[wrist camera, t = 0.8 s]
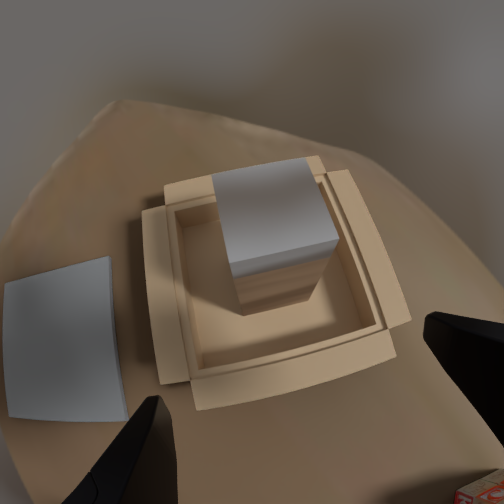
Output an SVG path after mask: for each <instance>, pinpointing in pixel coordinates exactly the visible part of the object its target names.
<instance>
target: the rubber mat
mask: <svg viewBox="0 0 504 504" xmlns="http://www.w3.org/2000/svg"><path fill="white" fill-rule="evenodd" d="M3 366H4V380H5V390H6V399H7V406H8V413H9V417H15V418H24V419H34V420H47V421H68V422H113V421H128V420H129V417H128V412H127V407H126V402H125V396H124V391H123V385H122V378H121V372H120V365H119V357H118V349H117V341H116V331H115V320H114V307H113V291H112V263H111V258H110V257H109V256H106V257H102V258H98V259H94V260H90V261H86V262H82V263H79V264H75V265H71V266H67V267H63V268H60V269H56V270H52V271H48V272H45V273H41V274H37V275H34V276H30V277H26V278H23V279H19V280H16V281H12V282H9V283H5V289H4V304H3Z"/></svg>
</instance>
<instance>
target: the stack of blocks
mask: <svg viewBox="0 0 504 504" xmlns="http://www.w3.org/2000/svg"><path fill="white" fill-rule="evenodd" d="M454 504H504V469H498V470H497V471H495V472H493V473H491V474H489V475H487V476H485V477H483V478H481V479H479V480H477V481H474V482H472V483H470V484H468V485H466V486H464V487H462V488H460V489H458V490H456V494H455V500H454Z"/></svg>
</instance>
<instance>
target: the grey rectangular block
mask: <svg viewBox="0 0 504 504" xmlns="http://www.w3.org/2000/svg"><path fill="white" fill-rule="evenodd" d="M211 177H212V182H213V187H214V192H215V197H216V202H217V207H218V212H219V217H220V222H221V226H222V231H223V236H224V241H225V246H226V250H227V255H228V260H229V264H230V268H231V272H232V276H233V280H234V284H235V287H236V291H237V295H238V299H239V303H240V306H241V310H242V314H243V316H247V315H251V314H256V313H260V312H264V311H269V310H273V309H277V308H281V307H285V306H289V305H293V304H297V303H301V302H305V301H308V300H309V298H310V297H311V295H312V293H313V291H314V289H315V287H316V285H317V283H318V281H319V279H320V277H321V275H322V273H323V271H324V269H325V267H326V265H327V263H328V261H329V259H330V257H331V255H332V253H333V251H334V249H335V247H336V245H337V243H338V241H339V236H338V234H337V231H336V228H335V226H334V223H333V221H332V219H331V216H330V214H329V211H328V209H327V206H326V204H325V202H324V199H323V197H322V195H321V192H320V190H319V188H318V185H317V183H316V181H315V178H314V176H313V174H312V172H311V169H310V167H309V165H308V163H307V161H306V159H305V157H304V158H298V159H291V160H285V161H279V162H273V163H268V164H262V165H257V166H251V167H246V168H241V169H236V170H231V171H226V172H221V173H216V174H212V175H211Z"/></svg>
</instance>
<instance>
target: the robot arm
mask: <svg viewBox="0 0 504 504" xmlns="http://www.w3.org/2000/svg"><path fill="white" fill-rule="evenodd" d="M423 338H424V341H425V342H426V344H427V345H428V347H429V348H430V349H431V351H432V352H433V354H434V355H435V357H436V358H437V360H438V361H439V363H440V364H441V366H442V367H443V369H444V370H445V371H446V373H447V374H448V375H449V376H450V378H451V379H452V380H453V381H454V383H455V384H456V385H457V386H458V388H459V389H460V390H461V391H462V393H463V394H464V395H465V396H466V398H467V399H468V400H469V401H470V403H471V404H472V405H473V407H474V408H475V409H476V410H477V412H478V413H479V414H480V416H481V417H482V418H483V420H484V421H485V422H486V424H487V425H488V426H489V428H490V429H491V430H492V432H493V433H494V434H495V436H496V437H497V439H498V440H499V441H500V443H501V444H502V446H503V447H504V324H503V323H497V322H492V321H486V320H480V319H475V318H469V317H464V316H458V315H453V314H448V313H442V312H437V311H435V312H432V313H430V314H428V315H427V316H426V317H425V322H424V330H423ZM61 504H178V490H177V459H176V451H175V443H174V436H173V427H172V419H171V415H170V412H169V411H168V409H167V407H166V405H165V403H164V401H163V399H162V398H161V396H159V395H156V396H149V397H147V398H146V399H145V400H144V401H143V403H142V404H141V405H140V406H139V408H138V409H137V410H136V412H135V413H134V414H133V416H132V417H131V418H130V419H129V421H128V422H127V423H126V425H125V426H124V427H123V429H122V430H121V431H120V432H119V434H118V435H117V436H116V438H115V439H114V440H113V441H112V443H111V444H110V445H109V447H108V448H107V449H106V450H105V452H104V453H103V454H102V456H101V457H100V458H99V459H98V461H97V462H96V463H95V465H94V466H93V467H92V468H91V470H90V472H88V473H87V475H86V476H85V477H84V479H83V480H82V481H81V482H80V483H79V485H78V486H77V487H76V488H75V489H74V491H73V492H72V493H71V494H70V495H69V496H68V497H67V498H66V499H65V500H64V501H63V502H62V503H61Z"/></svg>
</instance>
